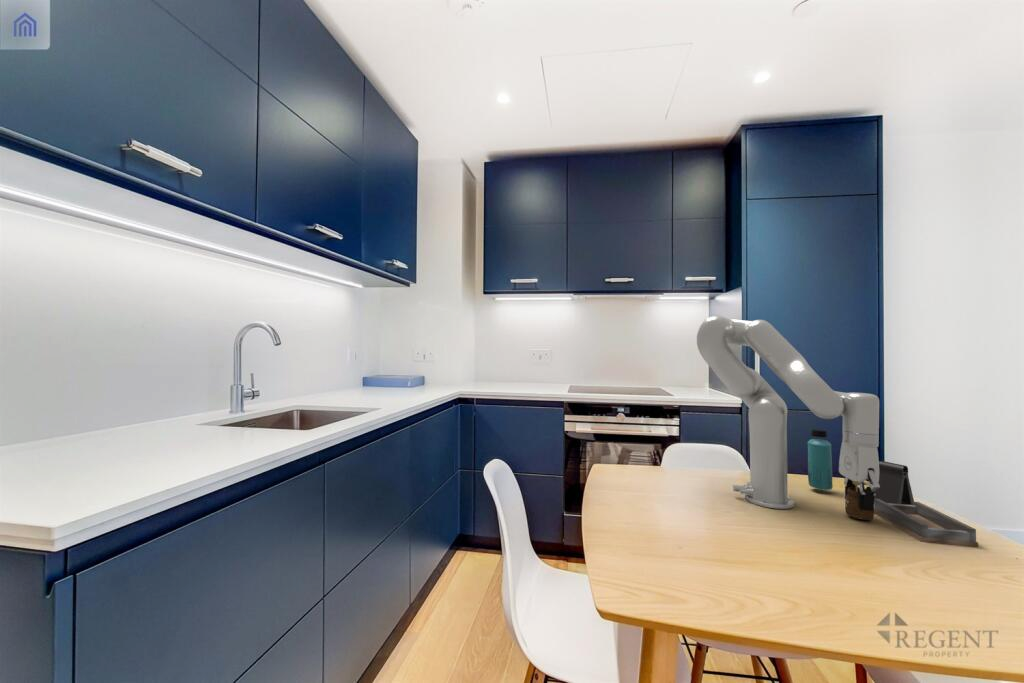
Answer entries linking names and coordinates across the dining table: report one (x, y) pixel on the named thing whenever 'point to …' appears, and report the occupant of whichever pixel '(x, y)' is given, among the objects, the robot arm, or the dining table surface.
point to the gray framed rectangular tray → (926, 523)
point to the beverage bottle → (819, 461)
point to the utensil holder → (856, 504)
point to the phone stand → (894, 484)
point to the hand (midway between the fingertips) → (858, 504)
